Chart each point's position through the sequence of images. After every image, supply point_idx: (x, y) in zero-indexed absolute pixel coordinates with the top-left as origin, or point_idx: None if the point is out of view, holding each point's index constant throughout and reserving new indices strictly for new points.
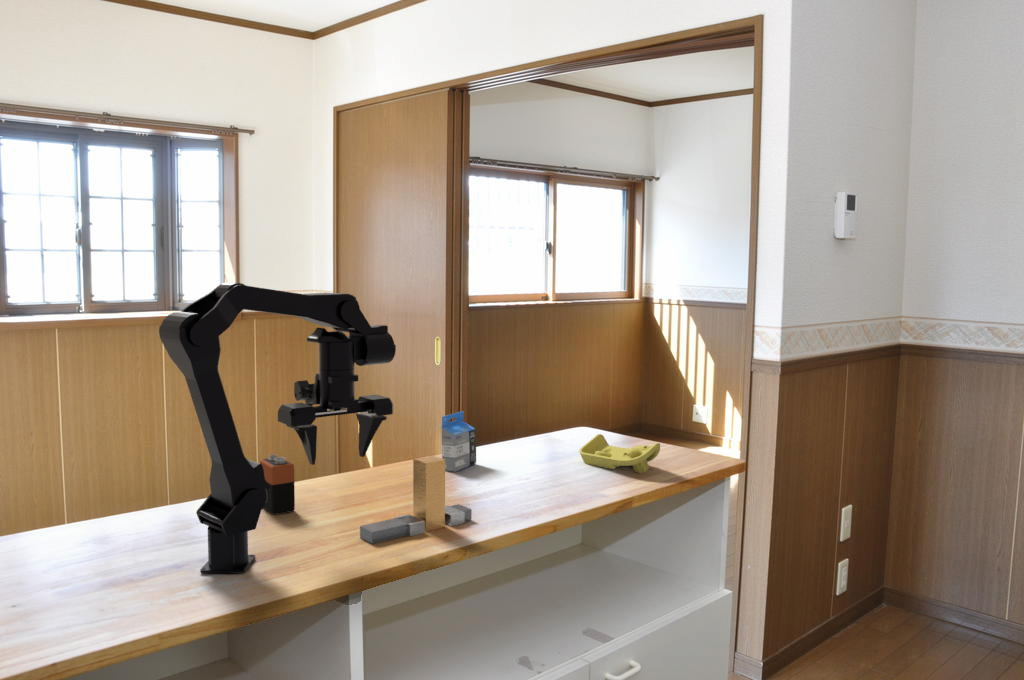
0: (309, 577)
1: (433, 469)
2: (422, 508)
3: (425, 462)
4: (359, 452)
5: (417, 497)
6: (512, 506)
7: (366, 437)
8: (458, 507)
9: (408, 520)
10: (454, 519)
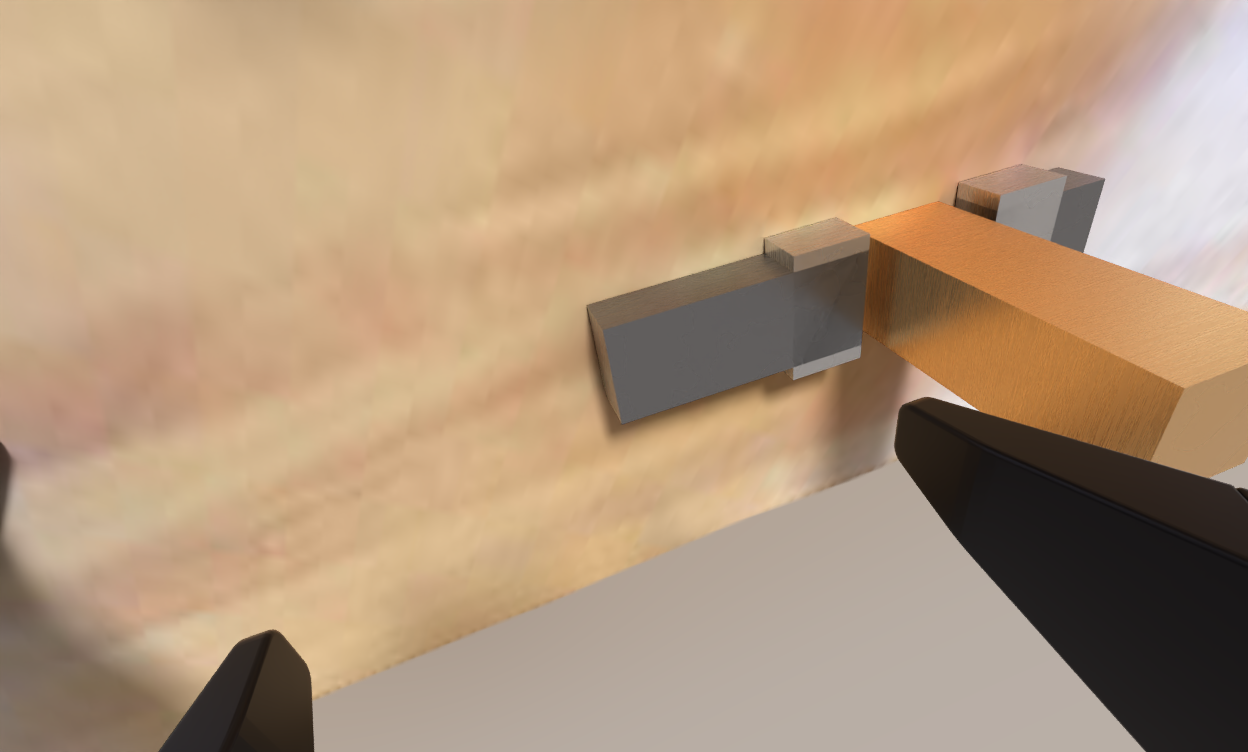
0: (304, 630)
1: None
2: (909, 336)
3: None
4: (928, 429)
5: (949, 316)
6: (1244, 153)
7: (1104, 690)
8: (1069, 227)
9: (819, 324)
10: None
